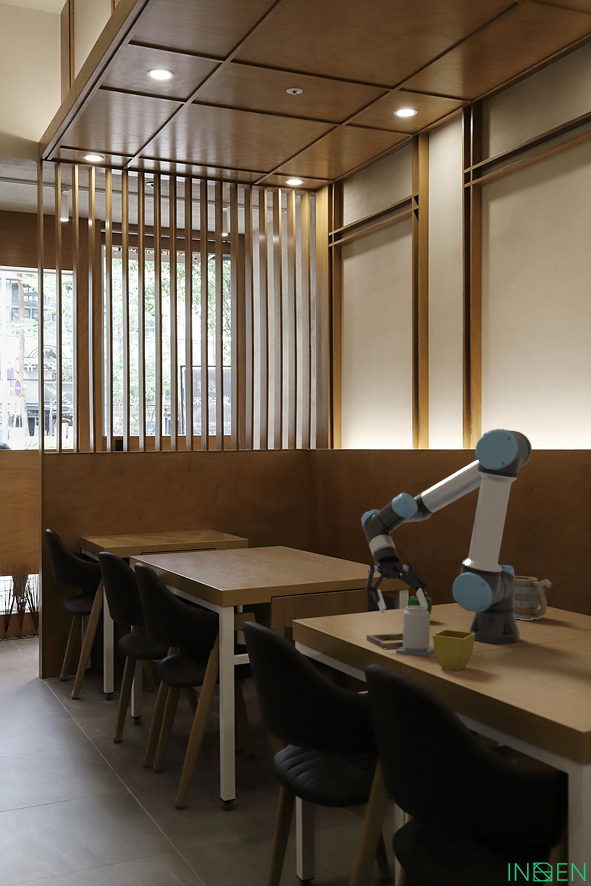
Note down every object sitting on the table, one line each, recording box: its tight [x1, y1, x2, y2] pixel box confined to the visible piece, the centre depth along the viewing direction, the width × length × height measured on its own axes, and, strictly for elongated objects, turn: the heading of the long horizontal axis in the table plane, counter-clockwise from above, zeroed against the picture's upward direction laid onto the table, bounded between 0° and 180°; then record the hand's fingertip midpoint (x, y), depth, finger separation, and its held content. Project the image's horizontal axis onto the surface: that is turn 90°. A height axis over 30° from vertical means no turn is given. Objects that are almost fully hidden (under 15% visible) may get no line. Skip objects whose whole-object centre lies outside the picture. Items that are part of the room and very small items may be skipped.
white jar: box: [402, 605, 431, 651], centre depth 236 cm, size 8×8×12 cm
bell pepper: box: [407, 591, 433, 615], centre depth 285 cm, size 8×8×10 cm
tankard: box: [514, 575, 553, 619], centre depth 290 cm, size 20×13×15 cm, turn 25°
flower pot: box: [432, 629, 475, 672], centre depth 218 cm, size 9×9×9 cm
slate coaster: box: [395, 646, 435, 657], centre depth 236 cm, size 9×9×1 cm
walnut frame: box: [366, 632, 403, 650], centre depth 247 cm, size 12×12×2 cm
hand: (404, 609), depth 244 cm, fingers open, 13 cm apart
